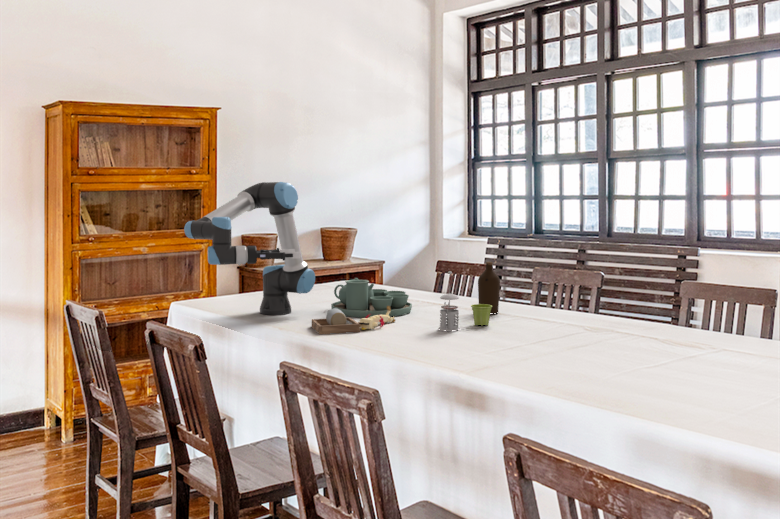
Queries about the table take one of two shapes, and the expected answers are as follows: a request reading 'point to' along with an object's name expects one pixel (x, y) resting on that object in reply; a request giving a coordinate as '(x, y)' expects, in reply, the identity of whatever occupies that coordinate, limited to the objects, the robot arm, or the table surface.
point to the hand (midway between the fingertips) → (297, 253)
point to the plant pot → (481, 313)
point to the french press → (449, 313)
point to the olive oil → (489, 288)
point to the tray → (334, 326)
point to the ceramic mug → (336, 317)
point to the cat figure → (375, 320)
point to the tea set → (369, 300)
